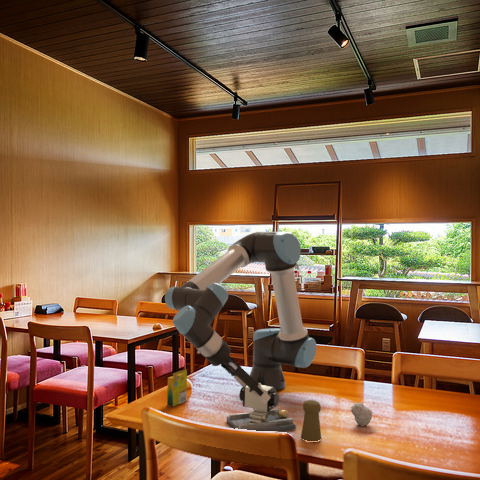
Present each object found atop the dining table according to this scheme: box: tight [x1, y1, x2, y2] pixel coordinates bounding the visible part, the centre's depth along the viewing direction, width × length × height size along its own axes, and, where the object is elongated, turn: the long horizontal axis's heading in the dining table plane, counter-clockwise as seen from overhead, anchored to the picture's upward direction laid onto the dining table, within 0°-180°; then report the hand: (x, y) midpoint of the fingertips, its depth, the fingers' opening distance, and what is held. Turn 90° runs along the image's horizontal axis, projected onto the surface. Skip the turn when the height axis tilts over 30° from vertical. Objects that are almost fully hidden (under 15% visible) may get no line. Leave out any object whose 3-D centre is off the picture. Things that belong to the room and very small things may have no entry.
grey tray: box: [226, 408, 297, 432], centre depth 142 cm, size 18×13×4 cm
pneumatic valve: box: [238, 383, 280, 423], centre depth 141 cm, size 6×12×12 cm, turn 64°
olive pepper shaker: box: [300, 399, 322, 441], centre depth 133 cm, size 6×6×11 cm
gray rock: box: [350, 402, 374, 426], centre depth 144 cm, size 6×7×7 cm
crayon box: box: [166, 369, 188, 408], centre depth 161 cm, size 7×3×12 cm, turn 145°
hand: (258, 393), depth 141 cm, fingers open, 13 cm apart
